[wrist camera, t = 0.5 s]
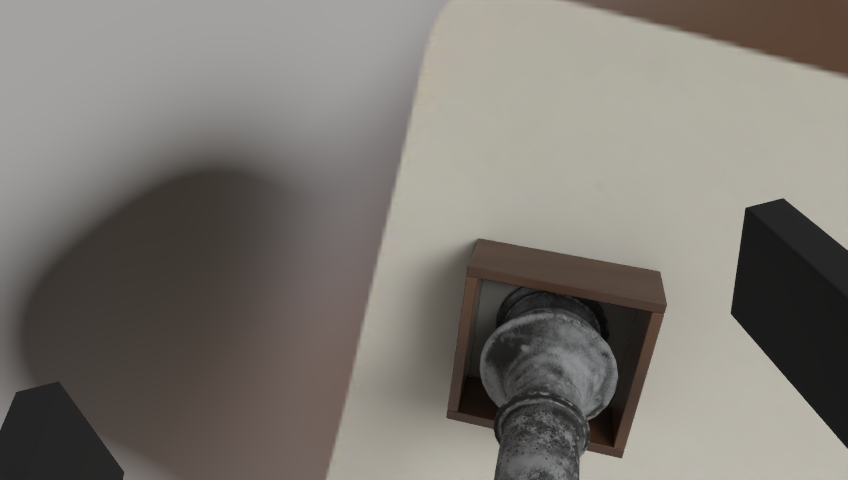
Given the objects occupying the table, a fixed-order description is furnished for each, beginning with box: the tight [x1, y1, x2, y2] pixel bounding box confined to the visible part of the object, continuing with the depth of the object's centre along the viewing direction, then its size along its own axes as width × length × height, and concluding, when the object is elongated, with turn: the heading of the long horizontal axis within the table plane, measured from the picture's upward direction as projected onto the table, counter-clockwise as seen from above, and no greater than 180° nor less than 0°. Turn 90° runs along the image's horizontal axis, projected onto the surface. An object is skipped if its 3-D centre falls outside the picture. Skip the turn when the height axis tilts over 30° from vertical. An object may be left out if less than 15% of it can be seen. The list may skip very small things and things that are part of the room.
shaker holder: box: [447, 239, 667, 458], centre depth 31 cm, size 8×8×3 cm
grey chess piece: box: [479, 287, 618, 480], centre depth 27 cm, size 6×6×12 cm
